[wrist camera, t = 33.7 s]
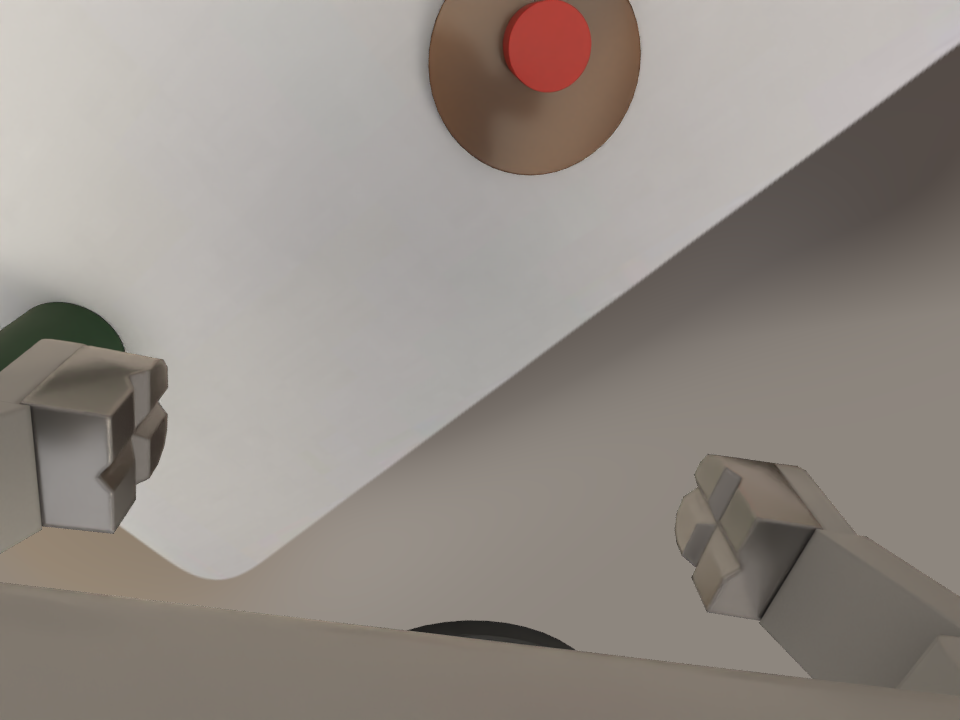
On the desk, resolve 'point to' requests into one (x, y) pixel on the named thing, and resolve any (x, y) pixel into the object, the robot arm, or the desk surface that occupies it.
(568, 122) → the coaster
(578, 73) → the cap
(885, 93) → the desk surface
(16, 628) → the robot arm
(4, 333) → the bottle
